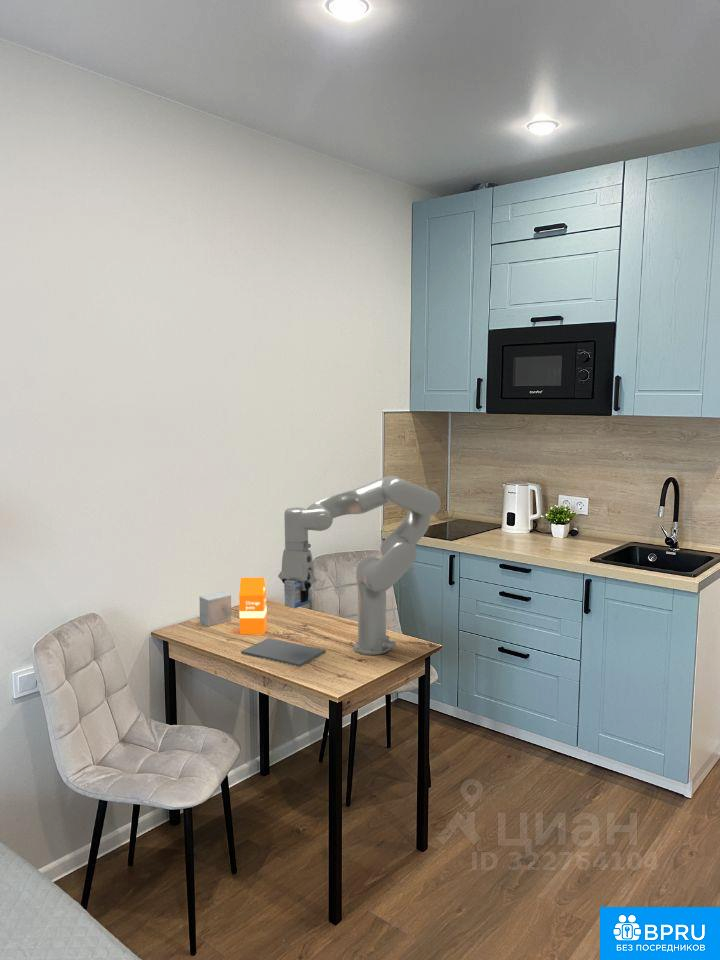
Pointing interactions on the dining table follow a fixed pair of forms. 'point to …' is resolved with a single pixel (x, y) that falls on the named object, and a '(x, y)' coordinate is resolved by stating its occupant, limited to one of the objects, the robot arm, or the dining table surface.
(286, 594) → the medicine box
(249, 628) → the orange juice
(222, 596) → the skincare box
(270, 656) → the mat
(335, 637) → the dining table surface
